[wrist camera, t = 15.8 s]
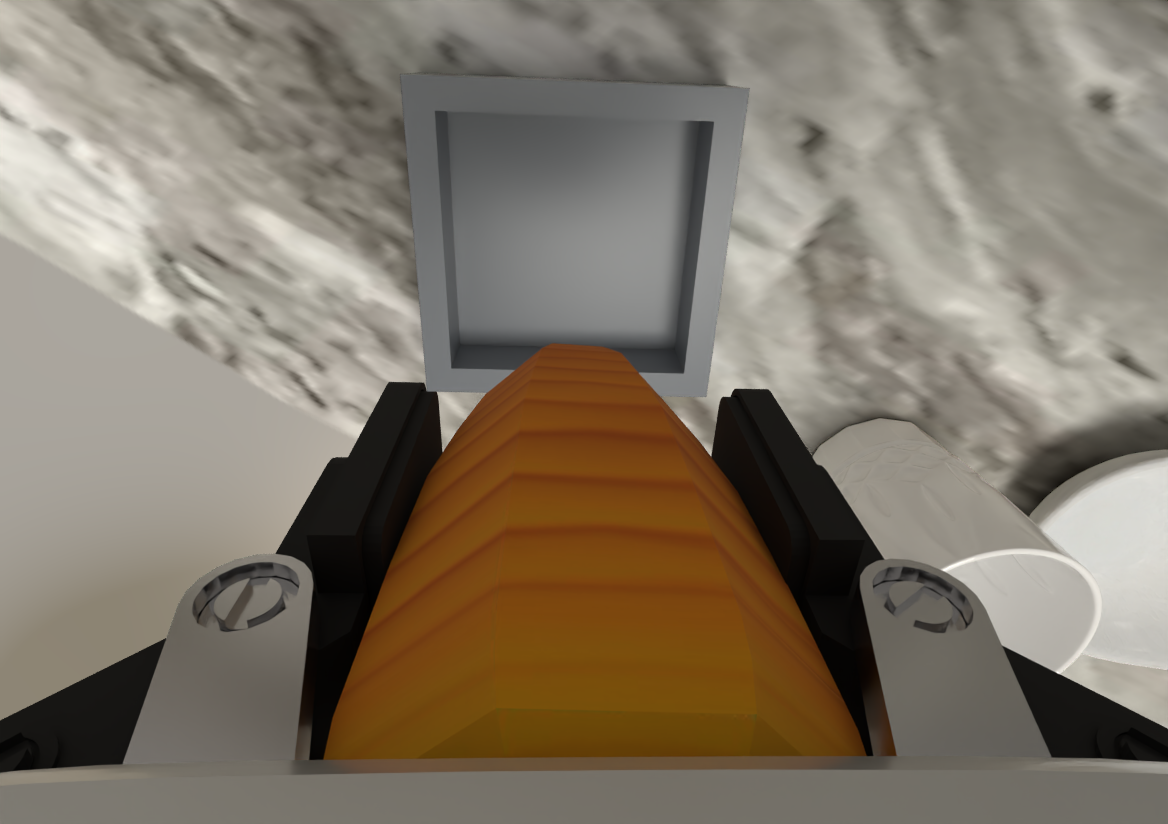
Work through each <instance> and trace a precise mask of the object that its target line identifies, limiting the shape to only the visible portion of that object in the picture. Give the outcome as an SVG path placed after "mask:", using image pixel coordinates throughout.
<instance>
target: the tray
mask: <svg viewBox="0 0 1168 824" xmlns="http://www.w3.org/2000/svg"><path fill="white" fill-rule="evenodd" d="M400 80H401V92H402V104H403V116H404V127H405V139H406V151H407V163H408V174H409V186H410V198H411V210H412V221H413V233H414V245H415V257H416V268H417V280H418V292H419V304H420V315H421V327H422V339H423V351H424V362H425V374H426V386H427V391H435V392H482V393H488V392H489V391H490V390H491V389H493V388H494V387H495V386H496V385H497V384H499V383H500V382H501V381H502V380H504V379H505V378H506V377H507V376H509V375H510V374H511V373H512V372H513V371H515V370H516V369H517V368H518V367H520V366H521V365H522V364H523V363H524V362H526V361H527V360H528V359H529V358H531V357H532V356H533V355H534V354H536V353H537V352H538V351H539V350H540V349H542V348H543V347H545V346H547V345H550V344H552V343H556V344H571V345H587V346H602V347H605V348H608V349H611V350H614V351H617V352H620V353H622V355H623V356H624V357H625V358H626V359H627V360H628V361H629V362H630V364H631V365H632V366H633V367H634V368H635V369H636V370H637V371H638V373H639V374H640V375H641V376H642V377H643V378H644V379H645V380H646V382H647V383H648V384H649V385H650V386H651V387H652V388H653V389H654V391H655V392H656V393H657V394H658V395H659V396H678V397H706V396H707V388H708V381H709V374H710V367H711V360H712V353H713V346H714V339H715V331H716V324H717V317H718V310H719V303H720V296H721V289H722V282H723V274H724V267H725V260H726V253H727V246H728V239H729V232H730V225H731V217H732V210H733V203H734V196H735V189H736V182H737V175H738V168H739V161H740V153H741V146H742V139H743V132H744V125H745V118H746V111H747V104H748V96H749V89H750V88H743V87H735V86H727V85H702V84H678V83H654V82H629V81H605V80H580V79H556V78H531V77H507V76H483V75H458V74H434V73H410V74H400Z"/></svg>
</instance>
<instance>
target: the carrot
mask: <svg viewBox="0 0 1168 824" xmlns="http://www.w3.org/2000/svg"><path fill="white" fill-rule="evenodd" d="M716 756H867V755H866V752H865V749H864V746H863V743H862V740H861V737H860V734H859V731H858V729H857V727H856V725H855V723H854V721H853V719H852V716H851V714H850V712H849V710H848V708H847V706H846V704H845V702H844V700H843V698H842V696H841V694H840V692H839V690H838V688H837V686H836V684H835V682H834V679H833V677H832V675H831V673H830V671H829V669H828V667H827V665H826V663H825V661H824V659H823V657H822V655H821V653H820V651H819V649H818V647H817V645H816V642H815V640H814V638H813V636H812V634H811V632H810V630H809V628H808V626H807V624H806V622H805V620H804V618H803V616H802V614H801V612H800V610H799V607H798V605H797V603H796V601H795V599H794V597H793V595H792V593H791V591H790V589H789V587H788V585H787V584H786V583H785V581H784V579H783V577H782V575H781V573H780V571H779V569H778V567H777V565H776V563H775V561H774V559H773V557H772V555H771V553H770V551H769V549H768V547H767V546H766V544H765V542H764V540H763V538H762V536H761V534H760V532H759V531H758V529H757V527H756V525H755V523H754V521H753V519H752V518H751V516H750V514H749V512H748V510H747V508H746V506H745V504H744V503H743V501H742V499H741V497H740V495H739V493H738V491H737V490H736V489H735V488H734V486H733V485H732V484H731V482H730V481H729V480H728V478H727V477H726V476H725V474H724V473H723V472H722V470H721V469H720V468H719V467H718V465H717V464H716V463H715V461H714V460H713V459H712V457H711V456H710V455H709V453H708V452H707V451H706V450H705V448H704V447H703V446H702V444H701V443H700V442H699V441H698V439H697V438H696V437H695V436H694V435H693V434H692V433H691V431H690V430H689V429H688V428H687V427H686V426H685V425H684V423H683V422H682V421H681V420H680V419H679V418H678V417H677V415H676V414H675V413H674V412H673V411H672V410H671V409H670V407H669V406H668V405H667V404H666V403H665V402H664V401H663V399H662V398H661V397H660V396H659V395H658V394H657V393H656V392H655V391H654V389H653V388H652V387H651V386H650V385H649V384H648V383H647V382H646V380H645V379H644V378H643V377H642V376H641V375H640V374H639V373H638V371H637V370H636V369H635V368H634V367H633V366H632V365H631V364H630V362H629V361H628V360H627V359H626V358H625V357H624V356H623V355H622V353H620V352H617V351H614V350H611V349H608V348H605V347H602V346H587V345H571V344H556V343H552V344H550V345H547V346H545V347H543V348H542V349H540V350H539V351H538V352H537V353H536V354H534V355H533V356H532V357H531V358H529V359H528V360H527V361H526V362H524V363H523V364H522V365H521V366H520V367H518V368H517V369H516V370H515V371H513V372H512V373H511V374H510V375H509V376H507V377H506V378H505V379H504V380H502V381H501V382H500V383H499V384H497V385H496V386H495V387H494V388H493V389H491V390H490V391H489V392H488V393H486V394H485V396H484V397H483V398H482V399H481V401H480V402H479V403H478V405H477V406H476V407H475V408H474V410H473V411H472V412H471V413H470V415H469V416H468V417H467V419H466V420H465V421H464V422H463V424H462V425H461V426H460V428H459V429H458V430H457V432H456V433H455V435H454V436H453V438H452V439H451V441H450V442H449V444H448V445H447V447H446V448H445V450H444V451H443V453H442V455H441V456H440V458H439V459H438V461H437V462H436V464H435V465H434V467H433V468H432V470H431V471H430V473H429V474H428V476H427V478H426V480H425V482H424V485H423V487H422V490H421V492H420V494H419V497H418V499H417V501H416V504H415V506H414V509H413V511H412V513H411V516H410V518H409V520H408V523H407V525H406V528H405V530H404V532H403V535H402V537H401V539H400V542H399V544H398V546H397V549H396V551H395V554H394V556H393V558H392V561H391V563H390V565H389V568H388V570H387V573H386V576H385V579H384V581H383V584H382V587H381V589H380V592H379V595H378V597H377V600H376V603H375V605H374V608H373V611H372V613H371V616H370V619H369V622H368V624H367V627H366V630H365V632H364V635H363V638H362V640H361V643H360V646H359V648H358V651H357V654H356V656H355V659H354V662H353V664H352V667H351V670H350V673H349V675H348V678H347V681H346V683H345V686H344V689H343V691H342V694H341V697H340V699H339V702H338V705H337V707H336V710H335V713H334V716H333V718H332V723H331V727H330V732H329V736H328V741H327V745H326V750H325V754H324V759H323V760H358V759H442V758H553V757H716Z"/></svg>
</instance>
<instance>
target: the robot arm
mask: <svg viewBox="0 0 1168 824" xmlns="http://www.w3.org/2000/svg"><path fill="white" fill-rule="evenodd" d="M441 455H442V440H441V427H440V414H439V401H438V395H437V392H435V391H426V387H425V384H424V383H413V382H389V383H388V384H387V386H386V388H385V390H384V391H383V393H382V395H381V397H380V399H379V401H378V403H377V404H376V406H375V408H374V410H373V412H372V414H371V416H370V417H369V419H368V421H367V423H366V425H365V427H364V429H363V430H362V432H361V434H360V436H359V438H358V440H357V442H356V443H355V445H354V447H353V449H352V451H351V453H350V455H349V457H343V458H342V457H336V458H332V459H331V460H330V462H329V463H328V464H327V466H326V468H325V469H324V471H323V473H322V475H321V476H320V478H319V480H318V481H317V483H316V485H315V486H314V488H313V490H312V492H311V494H310V495H309V497H308V498H307V500H306V502H305V504H304V505H303V507H302V509H301V511H300V512H299V514H298V516H297V518H296V519H295V521H294V523H293V525H292V526H291V528H290V529H289V531H288V533H287V535H286V536H285V538H284V540H283V541H282V543H281V545H280V547H279V548H278V550H277V552H276V554H260V555H253V556H248V557H244V558H240V559H236V560H233V561H231V562H229V563H226V564H224V565H221V566H219V567H217V568H215V569H213V570H212V571H211V572H209V573H207V574H206V575H204V576H203V577H201V578H199V579H198V580H197V581H196V582H195V583H194V584H193V585H192V586H191V587H190V588H189V589H188V590H187V591H186V592H185V594H184V596H183V597H182V599H181V601H180V603H179V604H178V606H177V609H176V612H175V615H174V618H173V621H172V624H171V626H170V629H169V632H168V635H167V638H165V639H163V640H161V641H160V642H157V643H155V644H153V645H151V646H149V647H147V648H145V649H143V650H141V651H139V652H138V653H135V654H133V655H131V656H129V657H127V658H125V659H123V660H121V661H119V662H117V663H115V664H113V665H111V666H109V667H107V668H105V669H103V670H101V671H99V672H97V673H95V674H93V675H91V676H89V677H87V678H85V679H83V680H81V681H79V682H77V683H75V684H73V685H71V686H69V687H67V688H65V689H63V690H61V691H59V692H57V693H55V694H53V695H51V696H49V697H47V698H45V699H43V700H41V701H39V702H37V703H35V704H33V705H31V706H29V707H27V708H25V709H22V710H21V711H19V712H17V713H14V714H12V715H10V716H8V717H6V718H4V719H2V720H1V721H0V824H1168V729H1167V728H1165V727H1163V726H1161V725H1159V724H1157V723H1155V722H1153V721H1151V720H1149V719H1147V718H1145V717H1143V716H1142V715H1140V714H1138V713H1136V712H1134V711H1132V710H1130V709H1128V708H1126V707H1124V706H1122V705H1120V704H1118V703H1116V702H1114V701H1112V700H1110V699H1108V698H1106V697H1104V696H1102V695H1100V694H1098V693H1096V692H1094V691H1092V690H1090V689H1088V688H1086V687H1084V686H1082V685H1080V684H1078V683H1076V682H1074V681H1072V680H1070V679H1068V678H1066V677H1064V676H1062V675H1060V674H1058V673H1056V672H1054V671H1052V670H1050V669H1048V668H1046V667H1044V666H1042V665H1040V664H1038V663H1036V662H1034V661H1032V660H1030V659H1028V658H1026V657H1024V656H1022V655H1020V654H1018V653H1016V652H1014V651H1012V650H1010V649H1008V648H1006V647H1004V646H1002V645H1001V642H1000V640H999V638H998V636H997V633H996V631H995V629H994V627H993V624H992V622H991V620H990V618H989V615H988V613H987V611H986V609H985V607H984V606H983V604H982V603H981V601H980V600H979V598H978V597H977V595H976V594H975V593H974V592H973V591H971V590H970V589H969V588H968V587H967V586H966V585H965V584H964V583H963V582H961V581H959V580H958V579H956V578H955V577H953V576H951V575H950V574H948V573H947V572H945V571H942V570H940V569H938V568H935V567H933V566H930V565H928V564H924V563H920V562H916V561H913V560H907V559H892V558H891V559H884V558H883V556H882V555H881V553H880V551H879V550H878V548H877V547H876V545H875V544H874V542H873V541H872V539H871V538H870V536H869V535H868V533H867V532H866V530H865V528H864V527H863V525H862V524H861V522H860V521H859V519H858V518H857V516H856V515H855V513H854V512H853V510H852V509H851V507H850V505H849V504H848V502H847V501H846V499H845V498H844V496H843V495H842V493H841V492H840V490H839V489H838V487H837V486H836V484H835V482H834V481H833V479H832V478H831V476H830V475H829V473H828V472H827V470H826V469H825V468H824V467H823V466H822V465H818V464H816V462H815V461H814V459H813V457H812V456H811V454H810V453H809V451H808V450H807V448H806V446H805V445H804V443H803V442H802V440H801V439H800V437H799V435H798V434H797V432H796V431H795V429H794V428H793V426H792V424H791V423H790V421H789V420H788V418H787V417H786V415H785V414H784V412H783V410H782V409H781V407H780V406H779V404H778V403H777V401H776V399H775V398H774V396H773V395H772V393H771V392H770V391H769V390H768V389H734V391H733V392H732V395H731V397H722V398H721V401H720V404H719V410H718V417H717V423H716V430H715V436H714V443H713V450H712V456H711V457H712V459H713V460H714V461H715V463H716V464H717V465H718V467H719V468H720V469H721V470H722V472H723V473H724V474H725V476H726V477H727V478H728V480H729V481H730V482H731V484H732V485H733V486H734V488H735V489H736V490H737V491H738V493H739V495H740V497H741V499H742V501H743V503H744V504H745V506H746V508H747V510H748V512H749V514H750V516H751V518H752V519H753V521H754V523H755V525H756V527H757V529H758V531H759V532H760V534H761V536H762V538H763V540H764V542H765V544H766V546H767V547H768V549H769V551H770V553H771V555H772V557H773V559H774V561H775V563H776V565H777V567H778V569H779V571H780V573H781V575H782V577H783V579H784V581H785V583H786V584H787V585H788V587H789V589H790V591H791V593H792V595H793V597H794V599H795V601H796V603H797V605H798V607H799V610H800V612H801V614H802V616H803V618H804V620H805V622H806V624H807V626H808V628H809V630H810V632H811V634H812V636H813V638H814V640H815V642H816V645H817V647H818V649H819V651H820V653H821V655H822V657H823V659H824V661H825V663H826V665H827V667H828V669H829V671H830V673H831V675H832V677H833V679H834V682H835V684H836V686H837V688H838V690H839V692H840V694H841V696H842V698H843V700H844V702H845V704H846V706H847V708H848V710H849V712H850V714H851V716H852V719H853V721H854V723H855V725H856V727H857V729H858V731H859V734H860V737H861V740H862V743H863V746H864V749H865V752H866V755H867V756H716V757H553V758H442V759H358V760H323V759H324V754H325V750H326V745H327V741H328V736H329V732H330V727H331V723H332V718H333V716H334V713H335V710H336V707H337V705H338V702H339V699H340V697H341V694H342V691H343V689H344V686H345V683H346V681H347V678H348V675H349V673H350V670H351V667H352V664H353V662H354V659H355V656H356V654H357V651H358V648H359V646H360V643H361V640H362V638H363V635H364V632H365V630H366V627H367V624H368V622H369V619H370V616H371V613H372V611H373V608H374V605H375V603H376V600H377V597H378V595H379V592H380V589H381V587H382V584H383V581H384V579H385V576H386V573H387V570H388V568H389V565H390V563H391V561H392V558H393V556H394V554H395V551H396V549H397V546H398V544H399V542H400V539H401V537H402V535H403V532H404V530H405V528H406V525H407V523H408V520H409V518H410V516H411V513H412V511H413V509H414V506H415V504H416V501H417V499H418V497H419V494H420V492H421V490H422V487H423V485H424V482H425V480H426V478H427V476H428V474H429V473H430V471H431V470H432V468H433V467H434V465H435V464H436V462H437V461H438V459H439V458H440V456H441Z"/></svg>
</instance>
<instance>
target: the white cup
mask: <svg viewBox="0 0 1168 824" xmlns="http://www.w3.org/2000/svg"><path fill="white" fill-rule="evenodd" d="M812 457H813V459H814V461H815V462H816V464H818V465H822V466H823V467H824V468H825V469H826V470H827V472H828V473H829V475H830V476H831V478H832V479H833V481H834V482H835V484H836V486H837V487H838V489H839V490H840V492H841V493H842V495H843V496H844V498H845V499H846V501H847V502H848V504H849V505H850V507H851V509H852V510H853V512H854V513H855V515H856V516H857V518H858V519H859V521H860V522H861V524H862V525H863V527H864V528H865V530H866V532H867V533H868V535H869V536H870V538H871V539H872V541H873V542H874V544H875V545H876V547H877V548H878V550H879V551H880V553H881V555H882V556H883V558H884V559H891V558H892V559H907V560H913V561H916V562H920V563H924V564H928V565H930V566H933V567H935V568H938V569H940V570H942V571H945V572H947V573H948V574H950V575H951V576H953V577H955V578H956V579H958V580H959V581H961V582H963V583H964V584H965V585H966V586H967V587H968V588H969V589H970V590H971V591H973V592H974V593H975V594H976V595H977V597H978V598H979V600H980V601H981V603H982V604H983V606H984V607H985V609H986V611H987V613H988V615H989V618H990V620H991V622H992V624H993V627H994V629H995V631H996V633H997V636H998V638H999V640H1000V642H1001V645H1002V646H1004V647H1006V648H1008V649H1010V650H1012V651H1014V652H1016V653H1018V654H1020V655H1022V656H1024V657H1026V658H1028V659H1030V660H1032V661H1034V662H1036V663H1038V664H1040V665H1042V666H1044V667H1046V668H1048V669H1050V670H1052V671H1054V672H1056V673H1058V674H1060V673H1062V672H1063V671H1064V670H1065V669H1067V668H1068V667H1069V666H1070V665H1071V664H1072V663H1073V662H1074V661H1075V660H1076V659H1077V658H1078V657H1079V656H1080V655H1081V654H1082V652H1083V651H1084V650H1085V649H1086V647H1087V646H1088V645H1089V643H1090V641H1091V640H1092V638H1093V636H1094V635H1095V633H1096V630H1097V628H1098V626H1099V623H1100V619H1101V615H1102V595H1101V591H1100V588H1099V585H1098V583H1097V581H1096V580H1095V578H1094V577H1093V575H1092V574H1091V573H1090V572H1089V571H1088V570H1087V569H1086V568H1085V567H1084V566H1083V565H1082V564H1081V563H1080V562H1078V561H1077V560H1076V559H1075V558H1074V557H1073V556H1072V555H1070V554H1069V553H1068V552H1067V551H1066V550H1065V549H1064V548H1062V547H1061V546H1060V545H1059V544H1058V543H1057V542H1056V541H1055V540H1053V539H1052V538H1051V537H1050V536H1049V535H1048V534H1047V533H1046V532H1044V531H1043V530H1042V529H1041V528H1040V527H1039V526H1038V525H1037V524H1036V523H1034V522H1033V521H1032V520H1031V519H1030V518H1029V517H1028V516H1027V515H1025V514H1024V513H1023V512H1022V511H1021V510H1020V509H1019V508H1018V507H1017V506H1015V505H1014V504H1013V503H1012V502H1011V501H1010V500H1009V499H1008V498H1006V497H1005V496H1004V495H1003V494H1002V493H1000V492H999V491H998V490H996V489H995V488H994V487H992V486H991V485H990V484H989V483H988V482H987V481H986V480H985V479H984V478H982V477H981V476H980V475H979V474H978V473H976V472H975V471H973V470H972V469H971V468H970V467H969V466H968V465H967V464H966V463H965V462H963V461H962V460H961V459H960V458H959V457H957V456H955V455H952V454H950V453H949V452H948V451H947V450H946V449H945V448H944V447H943V446H942V445H941V444H939V443H938V442H937V441H936V440H935V439H934V438H932V437H931V436H930V435H928V434H927V433H925V432H924V431H923V430H921V429H920V428H918V427H917V426H916V425H914V424H913V423H911V422H906V421H898V420H890V419H883V418H878V419H874V420H871V421H867V422H863V423H859V424H856V425H852V426H848V427H846V428H844V429H843V430H841V431H840V432H839V433H837V434H836V435H834V436H833V437H831V438H830V439H829V440H827V441H826V442H824V443H823V444H821V445H820V446H819V447H818V449H817V450H816V452H815V453H814V455H813V456H812Z"/></svg>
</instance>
